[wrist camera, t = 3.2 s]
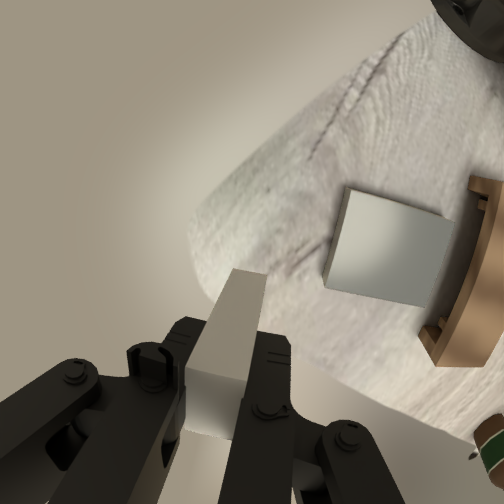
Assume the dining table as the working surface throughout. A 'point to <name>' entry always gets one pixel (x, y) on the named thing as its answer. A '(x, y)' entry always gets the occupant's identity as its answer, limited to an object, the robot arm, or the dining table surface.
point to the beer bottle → (492, 447)
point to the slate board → (386, 249)
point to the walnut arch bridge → (475, 293)
